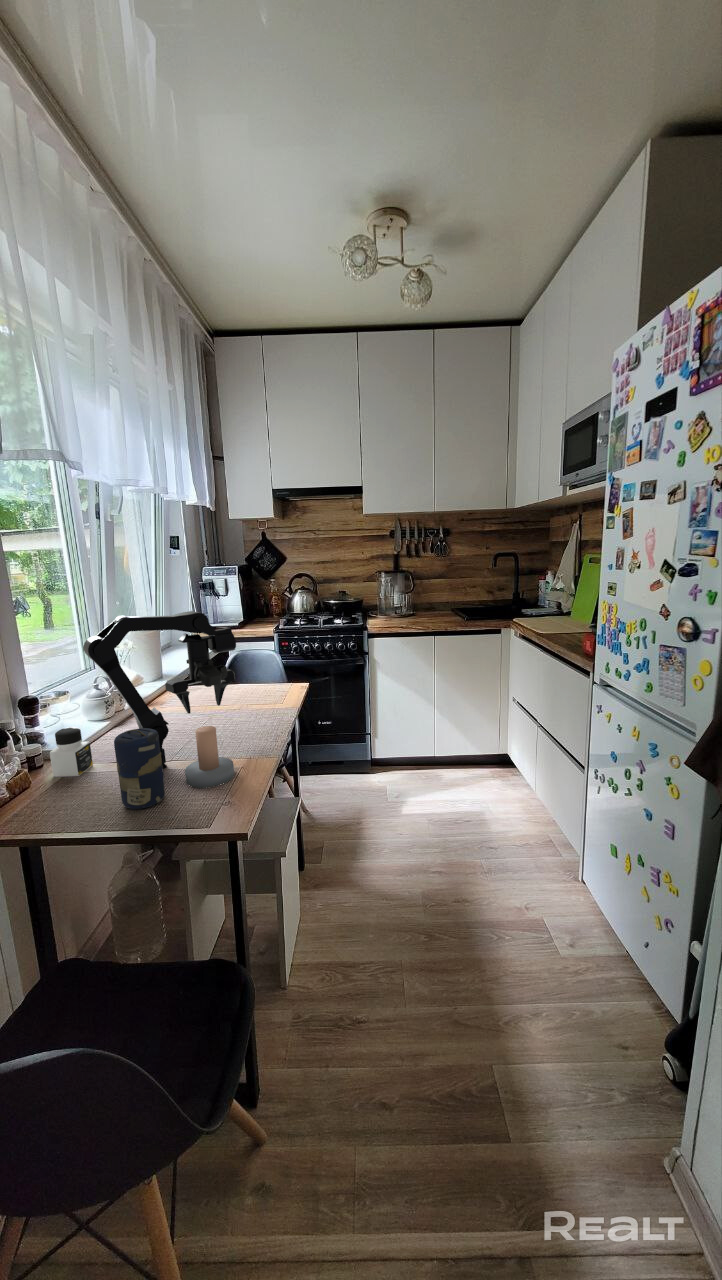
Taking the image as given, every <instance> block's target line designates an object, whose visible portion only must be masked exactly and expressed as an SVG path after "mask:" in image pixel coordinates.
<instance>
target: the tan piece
mask: <svg viewBox="0 0 722 1280" xmlns="http://www.w3.org/2000/svg"><path fill="white" fill-rule="evenodd" d="M217 737H218V735H217V728H216V726H212V725H205V726H202V727H198V728H196V729H195V741H196V742H195V743H196V751H197V752H196V753H197V761H198V762H199V769H200V770H203V771H209V770H213V769H216V768H218V767H219V757H220V756H219V748H218V738H217Z"/></svg>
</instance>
